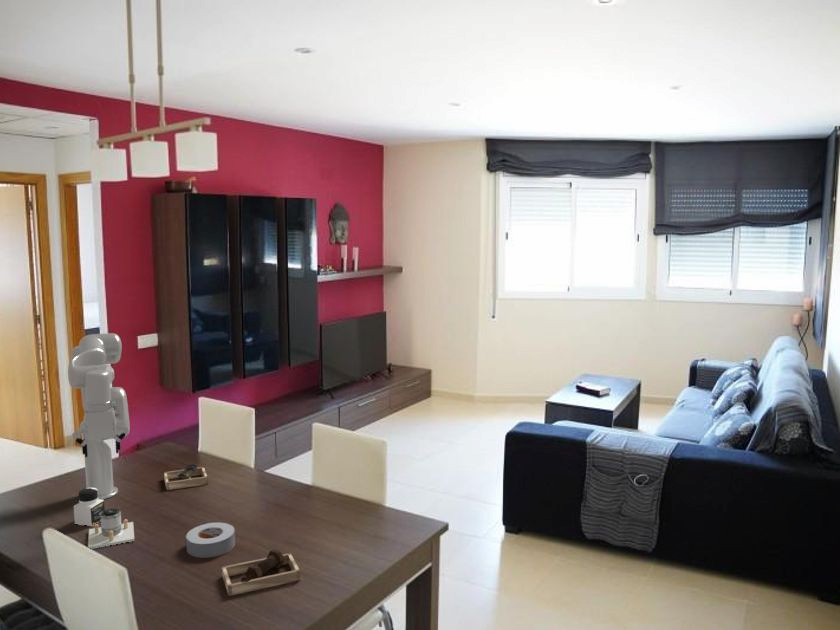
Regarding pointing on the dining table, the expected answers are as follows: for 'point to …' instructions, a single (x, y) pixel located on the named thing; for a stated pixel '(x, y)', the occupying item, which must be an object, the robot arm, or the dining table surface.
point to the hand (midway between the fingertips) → (101, 453)
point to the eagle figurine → (187, 472)
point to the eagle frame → (186, 482)
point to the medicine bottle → (88, 507)
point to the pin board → (110, 536)
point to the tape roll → (210, 540)
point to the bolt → (264, 566)
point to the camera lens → (111, 522)
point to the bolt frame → (258, 582)
